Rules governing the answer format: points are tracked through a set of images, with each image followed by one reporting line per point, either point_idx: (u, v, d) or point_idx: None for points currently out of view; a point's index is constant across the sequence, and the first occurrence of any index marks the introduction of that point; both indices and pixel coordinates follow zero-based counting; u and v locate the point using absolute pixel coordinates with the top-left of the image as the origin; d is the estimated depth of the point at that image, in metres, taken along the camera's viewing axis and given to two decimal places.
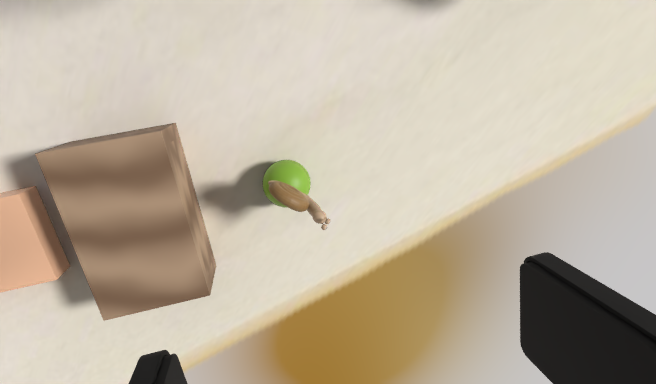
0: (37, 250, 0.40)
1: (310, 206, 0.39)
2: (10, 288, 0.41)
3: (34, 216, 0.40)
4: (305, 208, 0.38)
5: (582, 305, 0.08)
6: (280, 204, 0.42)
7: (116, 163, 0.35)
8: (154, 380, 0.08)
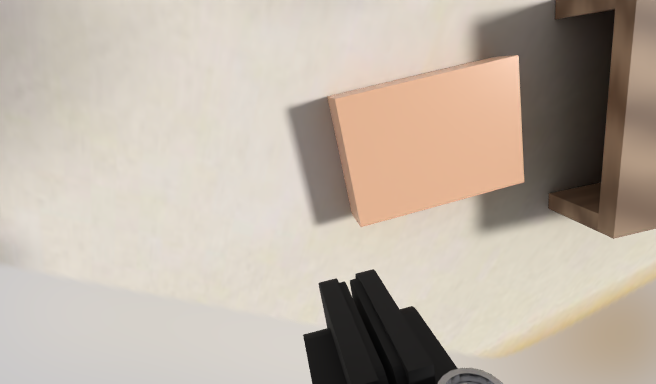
0: (515, 140, 0.30)
1: None
2: (471, 194, 0.30)
3: None
4: None
5: None
6: None
7: None
8: (343, 296, 0.10)
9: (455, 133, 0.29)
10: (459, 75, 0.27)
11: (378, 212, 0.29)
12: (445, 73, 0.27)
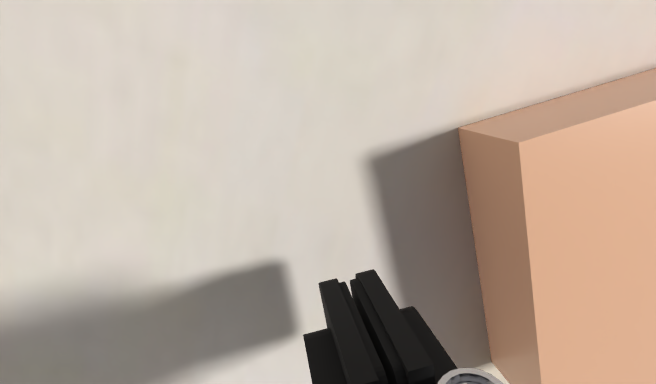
0: None
1: None
2: None
3: None
4: None
5: None
6: None
7: None
8: (343, 296, 0.10)
9: None
10: None
11: None
12: None
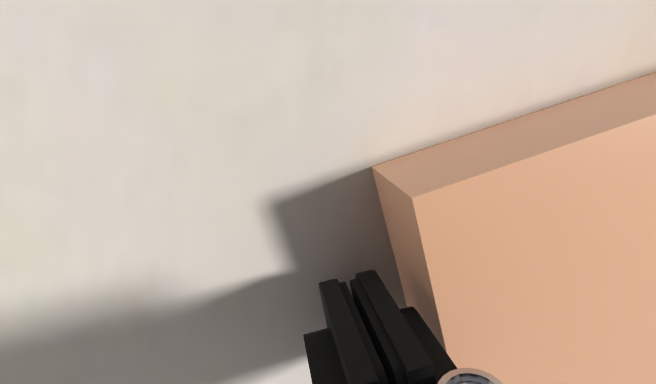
0: None
1: None
2: None
3: None
4: None
5: None
6: None
7: None
8: (343, 297, 0.10)
9: None
10: None
11: None
12: None
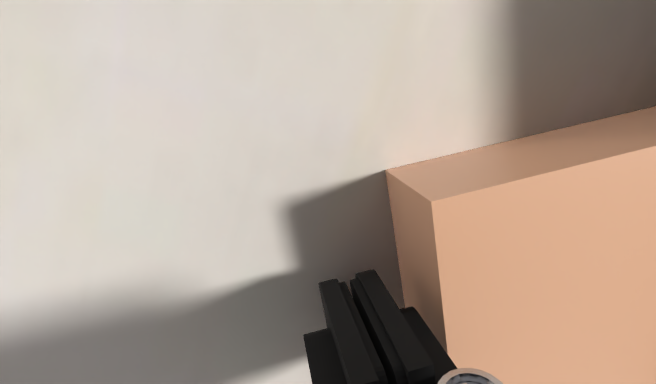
0: None
1: None
2: None
3: None
4: None
5: None
6: None
7: None
8: (343, 297, 0.10)
9: None
10: None
11: None
12: None
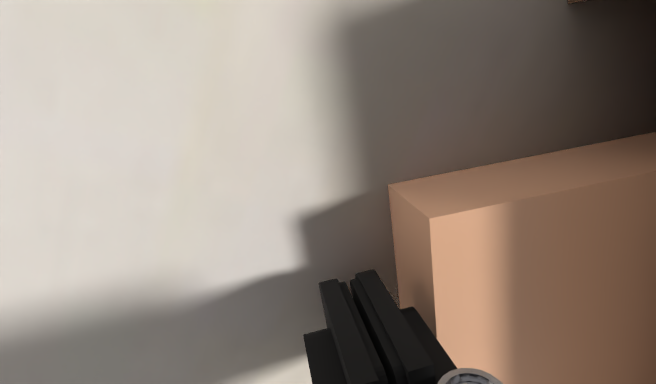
0: None
1: None
2: None
3: None
4: None
5: None
6: None
7: None
8: (344, 296, 0.10)
9: None
10: None
11: None
12: None
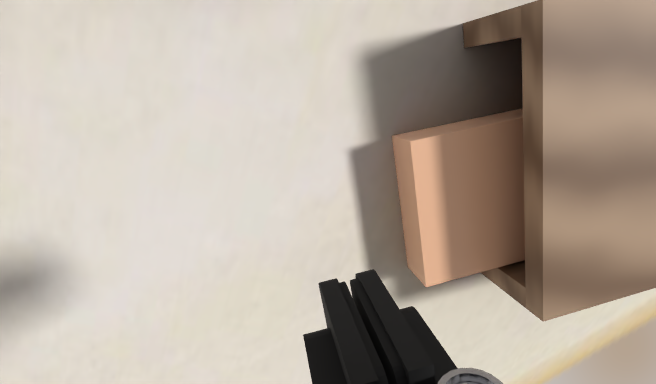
0: None
1: None
2: None
3: None
4: None
5: None
6: None
7: (651, 28, 0.19)
8: (343, 296, 0.10)
9: None
10: None
11: (446, 270, 0.25)
12: None
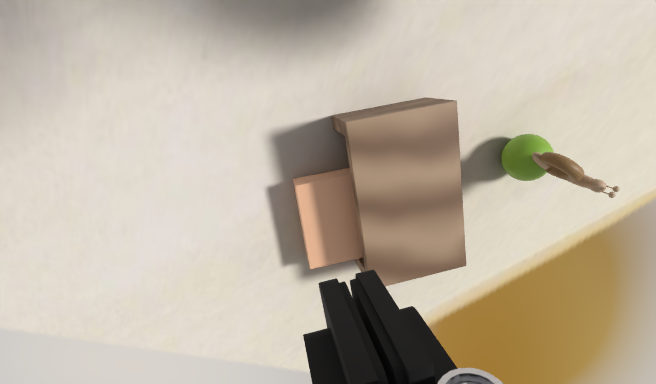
0: None
1: None
2: None
3: None
4: (582, 177, 0.38)
5: None
6: (527, 177, 0.43)
7: (412, 132, 0.36)
8: (343, 296, 0.10)
9: None
10: None
11: (323, 259, 0.43)
12: None
